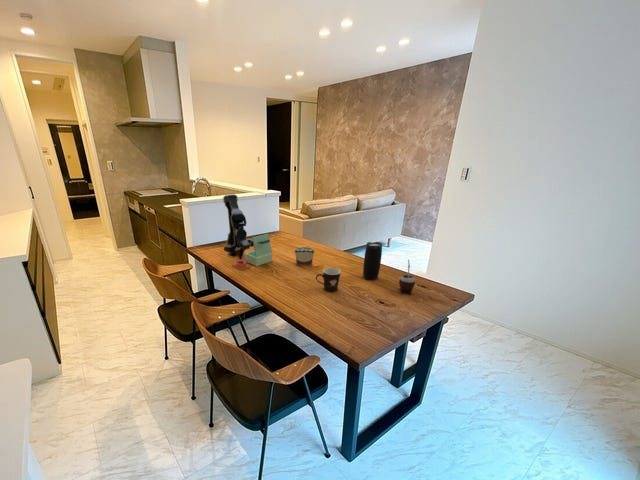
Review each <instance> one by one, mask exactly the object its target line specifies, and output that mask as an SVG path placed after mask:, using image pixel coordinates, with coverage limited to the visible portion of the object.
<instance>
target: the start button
mask: <svg viewBox="0 0 640 480" xmlns="http://www.w3.org/2000/svg"><path fill="white" fill-rule="evenodd" d="M237 261H238V263H239V264H241V263H244V261H245V260H244V259H243V258H242V259H241V260H240V259H239V258H238V259H237Z"/></svg>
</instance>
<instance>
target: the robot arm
mask: <svg viewBox="0 0 640 480" xmlns="http://www.w3.org/2000/svg"><path fill="white" fill-rule="evenodd" d="M222 200H223V203H224V206H225V208H226V209H227V216H228V227H229V232H228V234H227V238H226V245H224V247H223V251H224V252H226V253H227V254H228V255H229V256H231V257H236V256H237V257H238V260H239V259H240V260H241V259H243V256H244V253H245V251H246V250H250V249H251V248H252V247H253V248H254V245H253V240H252V238H251V239H246V238H247V235H248V233H247V230H246V229H245V227H247V219H246V215H245V214H244V213H243V211H242V210H241V209H240V208H239V203H238V200H239V199H238V195H237V194H226V195H224V196H223V197H222Z"/></svg>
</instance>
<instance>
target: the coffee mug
mask: <svg viewBox="0 0 640 480" xmlns="http://www.w3.org/2000/svg"><path fill="white" fill-rule="evenodd" d="M341 271H342V270H340V269H339V268H335V267H327V268H324V269H323V270H322V273H319V274H317V275H316V276H315V280H316V282H318V283H319V284H321V285H323V289H324V291H326V292H327V293H335V292H337V291H338V287H339V282H340V278H341ZM319 276H320V277H322V278H323V282H321V281H320V280H318V277H319Z"/></svg>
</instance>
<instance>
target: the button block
mask: <svg viewBox="0 0 640 480" xmlns="http://www.w3.org/2000/svg"><path fill="white" fill-rule="evenodd" d="M232 267H234V268H236V269H238V270H240V271H244V270H248V269H251V268H250V267H251V266H250V265H248V264H247V262H246V260H244V263H241V264H239V263H238V260H237V261H235V262H234V263H232Z"/></svg>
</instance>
